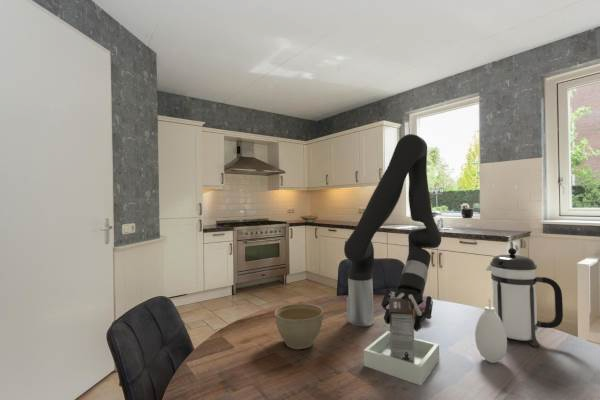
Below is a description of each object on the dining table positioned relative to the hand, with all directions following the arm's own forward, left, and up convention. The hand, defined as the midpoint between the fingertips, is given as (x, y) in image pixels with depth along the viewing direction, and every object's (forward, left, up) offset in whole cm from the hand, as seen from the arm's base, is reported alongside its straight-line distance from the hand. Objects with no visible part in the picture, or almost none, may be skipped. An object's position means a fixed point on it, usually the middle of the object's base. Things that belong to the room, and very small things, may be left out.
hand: (400, 326), depth 90 cm
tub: (0, 0, -11) cm, 11 cm away
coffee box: (0, 0, -9) cm, 9 cm away
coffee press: (+25, +38, -11) cm, 47 cm away
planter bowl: (-32, -8, -11) cm, 35 cm away
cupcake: (-8, +38, -11) cm, 41 cm away
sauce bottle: (+20, +16, -11) cm, 28 cm away
